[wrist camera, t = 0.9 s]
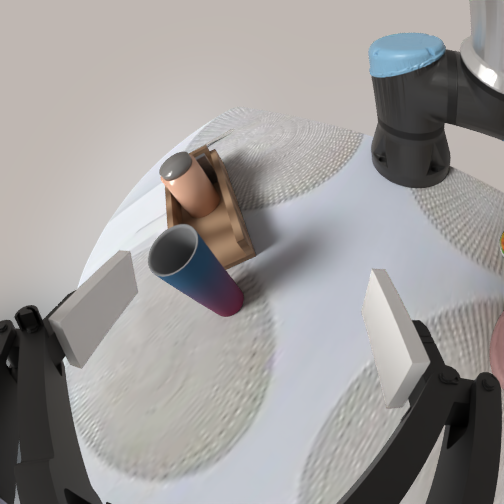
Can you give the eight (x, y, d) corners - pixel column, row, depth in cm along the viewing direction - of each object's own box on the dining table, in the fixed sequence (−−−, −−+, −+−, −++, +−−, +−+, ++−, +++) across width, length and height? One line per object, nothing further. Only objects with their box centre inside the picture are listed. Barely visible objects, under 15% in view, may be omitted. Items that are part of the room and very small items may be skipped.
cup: (248, 276, 44) (200, 217, 32) (250, 319, 40) (195, 269, 28) (209, 285, 46) (153, 232, 34) (207, 325, 42) (143, 281, 30)
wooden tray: (256, 255, 45) (238, 230, 40) (188, 286, 47) (164, 266, 41) (224, 165, 61) (210, 142, 55) (176, 191, 63) (159, 170, 57)
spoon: (175, 167, 70) (172, 163, 68) (240, 122, 70) (237, 117, 69) (180, 173, 67) (176, 169, 66) (247, 126, 68) (245, 121, 66)
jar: (200, 188, 58) (172, 149, 49) (226, 192, 54) (199, 149, 46) (182, 215, 56) (150, 177, 47) (207, 221, 52) (175, 179, 43)
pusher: (220, 180, 57) (200, 149, 50) (181, 200, 58) (158, 172, 51) (219, 177, 57) (200, 146, 50) (181, 197, 58) (158, 169, 52)
